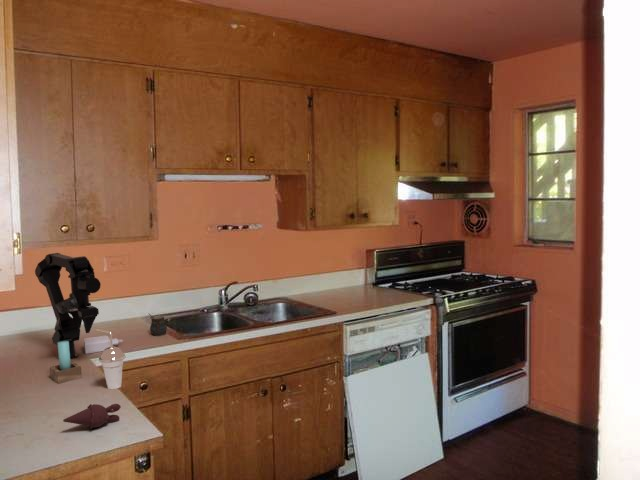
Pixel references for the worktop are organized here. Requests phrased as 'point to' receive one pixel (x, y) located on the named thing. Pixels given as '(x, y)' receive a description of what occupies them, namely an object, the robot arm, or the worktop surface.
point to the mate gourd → (158, 325)
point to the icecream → (94, 415)
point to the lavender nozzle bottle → (98, 344)
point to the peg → (64, 355)
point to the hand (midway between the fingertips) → (83, 330)
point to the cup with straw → (112, 364)
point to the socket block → (65, 373)
